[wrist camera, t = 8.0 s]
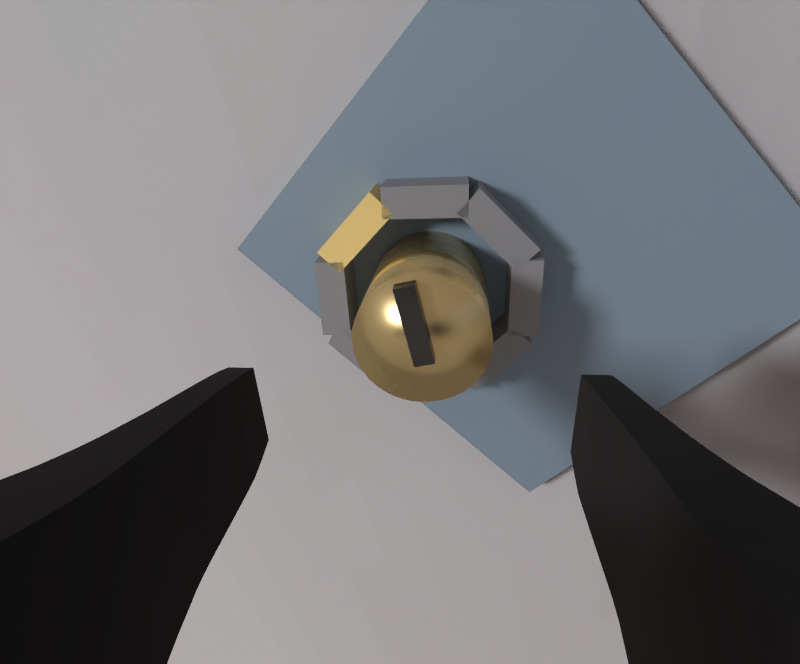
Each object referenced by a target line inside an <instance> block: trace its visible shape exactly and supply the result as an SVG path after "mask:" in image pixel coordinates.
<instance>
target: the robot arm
mask: <svg viewBox="0 0 800 664" xmlns="http://www.w3.org/2000/svg"><path fill="white" fill-rule="evenodd" d="M268 440H269V439H268V435H267V430H266V425H265V421H264V416H263V411H262V406H261V402H260V397H259V392H258V388H257V383H256V378H255V374H254V369H253V368H226V369H224V370H221V371H219V372H217V373H215V374H213V375H211V376H209V377H208V378H206V379H204V380H202V381H200V382H199V383H197V384H195V385H193V386H191V387H190V388H188V389H186V390H184V391H183V392H181V393H179V394H178V395H176V396H174V397H172V398H171V399H169V400H167V401H165V402H164V403H162V404H160V405H158V406H157V407H155V408H153V409H151V410H149V411H148V412H146V413H144V414H142V415H140V416H138V417H137V418H135V419H133V420H131V421H129V422H127V423H125V424H123V425H121V426H120V427H118V428H116V429H114V430H112V431H110V432H108V433H106V434H104V435H103V436H101V437H99V438H97V439H95V440H93V441H91V442H89V443H86V444H84V445H82V446H80V447H78V448H76V449H74V450H72V451H69V452H67V453H65V454H63V455H60V456H58V457H56V458H54V459H51V460H49V461H47V462H45V463H42V464H40V465H37V466H35V467H33V468H30V469H28V470H25V471H22V472H20V473H17V474H15V475H12V476H9V477H7V478H4V479H1V480H0V664H167V662H168V659H169V657H170V654H171V652H172V649H173V646H174V644H175V641H176V639H177V636H178V633H179V631H180V629H181V626H182V624H183V621H184V619H185V616H186V614H187V612H188V609H189V607H190V604H191V602H192V600H193V597H194V595H195V592H196V590H197V588H198V586H199V583H200V581H201V579H202V577H203V575H204V573H205V571H206V569H207V567H208V565H209V563H210V561H211V559H212V558H213V556H214V554H215V552H216V550H217V548H218V546H219V545H220V543H221V541H222V539H223V537H224V535H225V533H226V532H227V530H228V528H229V526H230V524H231V522H232V520H233V519H234V517H235V515H236V513H237V511H238V509H239V507H240V505H241V504H242V502H243V500H244V498H245V496H246V494H247V492H248V490H249V488H250V486H251V484H252V482H253V480H254V478H255V476H256V473H257V471H258V468H259V465H260V463H261V460H262V457H263V454H264V452H265V449H266V446H267V443H268ZM570 452H571V457H572V463H573V469H574V474H575V479H576V484H577V489H578V494H579V497H580V501H581V504H582V507H583V510H584V513H585V516H586V519H587V522H588V525H589V529H590V532H591V535H592V538H593V541H594V544H595V547H596V550H597V553H598V556H599V559H600V562H601V565H602V568H603V571H604V574H605V577H606V580H607V583H608V586H609V589H610V592H611V595H612V598H613V602H614V605H615V609H616V612H617V616H618V619H619V623H620V627H621V632H622V636H623V641H624V645H625V649H626V654H627V658H628V663H629V664H800V507H798V506H796V505H795V504H793V503H791V502H790V501H788V500H786V499H785V498H783V497H781V496H780V495H778V494H776V493H775V492H773V491H771V490H770V489H768V488H766V487H765V486H763V485H761V484H760V483H758V482H756V481H755V480H753V479H751V478H750V477H748V476H747V475H745V474H744V473H742V472H740V471H739V470H737V469H736V468H734V467H733V466H731V465H730V464H729V463H727V462H726V461H724V460H723V459H721V458H720V457H718V456H717V455H715V454H714V453H713V452H711V451H710V450H708V449H707V448H705V447H704V446H703V445H701V444H700V443H698V442H697V441H696V440H694V439H693V438H692V437H690V436H689V435H688V434H686V433H685V432H684V431H682V430H681V429H680V428H678V427H677V426H676V425H674V424H673V423H672V422H671V421H669V420H668V419H667V418H665V417H664V416H663V415H662V414H660V413H659V412H658V411H657V410H655V409H654V408H653V407H652V406H650V405H649V404H648V403H647V402H645V401H644V400H643V399H642V398H640V397H639V396H638V395H637V394H635V393H634V392H633V391H632V390H631V389H629V388H628V387H627V386H626V385H624V384H623V383H622V382H620V381H619V380H618V379H616V378H615V377H614V376H612V375H581V379H580V387H579V394H578V401H577V408H576V415H575V423H574V430H573V437H572V444H571V451H570Z"/></svg>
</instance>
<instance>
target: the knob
mask: <svg viewBox="0 0 800 664" xmlns="http://www.w3.org/2000/svg"><path fill="white" fill-rule="evenodd" d="M352 346H353V351H354V354H355V357H356V360H357V362H358V364H359V366H360V367H361V369H362V371H363V372H364V373H365V374H366V376H367V377H368V378H369V379H370V380H371V381H372V382H373V383H374V384H376V385H377V386H378V387H379V388H381V389H383V390H384V391H386V392H388V393H390V394H392V395H394V396H396V397H399V398H402V399H406V400H410V401H418V402H432V401H439V400H444V399H448V398H451V397H453V396H456V395H458V394H460V393H462V392H463V391H465V390H467V389H468V388H469V387H471V386H472V385H473V384H474V383H475V382H476V381H477V380H478V379H479V378H480V377H481V375H482V374H483V373H484V371H485V370H486V368H487V366H488V364H489V361H490V358H491V355H492V349H493V334H492V327H491V319H490V312H489V304H488V297H487V289H486V282H485V274H484V270H483V267H482V264H481V262H480V260H479V258H478V257H477V255H476V254H475V253H474V251H473V250H472V249H471V248H470V247H469V246H468V245H467V244H466V243H464V242H463V241H461V240H460V239H458V238H456V237H454V236H452V235H449V234H446V233H442V232H436V231H423V232H417V233H414V234H410V235H408V236H406V237H403V238H402V239H400V240H398V241H397V242H396V243H394V244H393V245H392V246H391V247H390V248H389V249H388V250H387V251H386V253H385V254H384V255H383V257H382V259H381V261H380V263H379V265H378V267H377V270H376V272H375V274H374V276H373V279H372V281H371V283H370V285H369V288H368V290H367V292H366V294H365V297H364V299H363V301H362V303H361V306H360V308H359V310H358V312H357V315H356V317H355V320H354V323H353V328H352Z"/></svg>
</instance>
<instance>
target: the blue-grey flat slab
mask: <svg viewBox="0 0 800 664" xmlns="http://www.w3.org/2000/svg"><path fill="white" fill-rule="evenodd" d="M423 231H436V232H442V233H446V234H449V235H452V236H454V237H456V238H458V239H460V240H461V241H463V242H464V243H466V244H467V245H468V246H469V247H470V248H471V249H472V250H473V251H474V253H475V254H476V255H477V257H478V258H479V260H480V262H481V264H482V267H483V270H484V274H485V282H486V289H487V297H488V304H489V312H490V319H491V327H492V334H493V349H492V355H491V358H490V361H489V364H488V366H487V368H486V370H485V371H484V373H483V374H482V375H481V377H480V378H479V379H478V380H477V381H476V382H475V383H474V384H473V385H472V386H471V387H469V388H468V389H467V390H465V391H463V392H462V393H460V394H458V395H456V396H453V397H451V398H448V399H444V400H439V401H432V402H422V403H423V404H424V405H425V406H427V407H428V408H429V409H430V410H431V411H433V412H434V413H435V414H436V415H437V416H439V417H440V418H441V419H442V420H443V421H445V422H446V423H447V424H448V425H449V426H451V427H452V428H453V429H454V430H455V431H457V432H458V433H459V434H460V435H461V436H463V437H464V438H465V439H466V440H467V441H469V442H470V443H471V444H472V445H473V446H475V447H476V448H477V449H478V450H479V451H481V452H482V453H483V454H484V455H485V456H487V457H488V458H489V459H490V460H491V461H493V462H494V463H495V464H496V465H497V466H499V467H500V468H501V469H502V470H503V471H505V472H506V473H507V474H508V475H509V476H511V477H512V478H513V479H514V480H515V481H517V482H518V483H519V484H520V485H521V486H523V487H524V488H525V489H526V490H527V491H529V492H530V491H532V490H533V489H535V488H537V487H538V486H540V485H541V484H543V483H544V482H546V481H548V480H549V479H551V478H552V477H554V476H555V475H557V474H558V473H560V472H562V471H563V470H565V469H566V468H568V467H569V466H571V465H573V463H572V457H571V452H570V451H571V444H572V437H573V430H574V423H575V415H576V408H577V401H578V394H579V387H580V379H581V375H612V376H614V377H615V378H616V379H618V380H619V381H620V382H622V383H623V384H624V385H626V386H627V387H628V388H629V389H631V390H632V391H633V392H634V393H635V394H637V395H638V396H639V397H640V398H642V399H643V400H644V401H645V402H647V403H648V404H649V405H650V406H652V407H653V408H654V409H655V410H659V409H660V408H662V407H663V406H665V405H667V404H668V403H670V402H671V401H673V400H674V399H676V398H678V397H679V396H681V395H682V394H684V393H685V392H687V391H688V390H690V389H692V388H693V387H695V386H696V385H698V384H699V383H701V382H703V381H704V380H706V379H707V378H709V377H710V376H712V375H714V374H715V373H717V372H718V371H720V370H721V369H723V368H725V367H726V366H728V365H729V364H731V363H732V362H734V361H735V360H737V359H739V358H740V357H742V356H743V355H745V354H746V353H748V352H750V351H751V350H753V349H754V348H756V347H757V346H759V345H761V344H762V343H764V342H765V341H767V340H768V339H770V338H771V337H773V336H775V335H776V334H778V333H779V332H781V331H782V330H784V329H786V328H787V327H789V326H790V325H792V324H793V323H795V322H797V321H798V320H800V207H799V205H798V204H797V203H796V202H795V200H794V199H793V198H792V197H791V195H790V194H789V193H788V191H787V190H786V189H785V188H784V186H783V185H782V184H781V183H780V181H779V180H778V179H777V177H776V176H775V175H774V174H773V172H772V171H771V170H770V169H769V167H768V166H767V165H766V164H765V162H764V161H763V160H762V158H761V157H760V156H759V155H758V153H757V152H756V151H755V150H754V148H753V147H752V146H751V144H750V143H749V142H748V141H747V139H746V138H745V137H744V136H743V134H742V133H741V132H740V130H739V129H738V128H737V127H736V125H735V124H734V123H733V122H732V120H731V119H730V118H729V116H728V115H727V114H726V113H725V111H724V110H723V109H722V108H721V106H720V105H719V104H718V102H717V101H716V100H715V99H714V97H713V96H712V95H711V94H710V92H709V91H708V90H707V88H706V87H705V86H704V85H703V83H702V82H701V81H700V80H699V78H698V77H697V76H696V74H695V73H694V72H693V71H692V69H691V68H690V67H689V66H688V64H687V63H686V62H685V60H684V59H683V58H682V57H681V55H680V54H679V53H678V52H677V50H676V49H675V48H674V46H673V45H672V44H671V43H670V41H669V40H668V39H667V38H666V36H665V35H664V34H663V32H662V31H661V30H660V29H659V27H658V26H657V25H656V24H655V22H654V21H653V20H652V18H651V17H650V16H649V15H648V13H647V12H646V11H645V10H644V8H643V7H642V6H641V4H640V3H639V2H638V1H637V0H428V1H427V2H426V4H425V5H424V6H423V8H422V9H421V10H420V12H419V13H418V14H417V15H416V17H415V18H414V19H413V21H412V22H411V23H410V25H409V26H408V27H407V29H406V30H405V31H404V32H403V34H402V35H401V36H400V38H399V39H398V40H397V42H396V43H395V44H394V45H393V47H392V48H391V49H390V51H389V52H388V53H387V55H386V56H385V57H384V59H383V60H382V61H381V62H380V64H379V65H378V66H377V68H376V69H375V70H374V72H373V73H372V74H371V75H370V77H369V78H368V79H367V81H366V82H365V83H364V85H363V86H362V87H361V89H360V90H359V91H358V92H357V94H356V95H355V96H354V98H353V99H352V100H351V102H350V103H349V104H348V105H347V107H346V108H345V109H344V111H343V112H342V113H341V115H340V116H339V117H338V119H337V120H336V121H335V122H334V124H333V125H332V126H331V128H330V129H329V130H328V132H327V133H326V134H325V135H324V137H323V138H322V139H321V141H320V142H319V143H318V145H317V146H316V147H315V149H314V150H313V151H312V152H311V154H310V155H309V156H308V158H307V159H306V160H305V162H304V163H303V164H302V165H301V167H300V168H299V169H298V171H297V172H296V173H295V175H294V176H293V177H292V179H291V180H290V181H289V182H288V184H287V185H286V186H285V188H284V189H283V190H282V192H281V193H280V194H279V195H278V197H277V198H276V199H275V201H274V202H273V203H272V205H271V206H270V207H269V209H268V210H267V211H266V212H265V214H264V215H263V216H262V218H261V219H260V220H259V222H258V223H257V224H256V225H255V227H254V228H253V229H252V231H251V232H250V233H249V235H248V236H247V237H246V239H245V240H244V241H243V242H242V244H241V245H240V246H239V248H238V250H239V251H240V252H242V253H243V254H244V255H245V256H246V257H248V258H249V259H250V260H251V261H252V262H254V263H255V264H256V265H257V266H258V267H260V268H261V269H262V270H263V271H264V272H266V273H267V274H268V275H269V276H270V277H272V278H273V279H274V280H275V281H276V282H278V283H279V284H280V285H281V286H282V287H284V288H285V289H286V290H287V291H289V292H290V293H291V294H292V295H293V296H295V297H296V298H297V299H298V300H299V301H301V302H302V303H303V304H304V305H305V306H307V307H308V308H309V309H310V310H311V311H313V312H314V313H315V314H316V315H317V316H319V317H320V318H321V320H322V327H323V335H333V336H332V337H331V339H330V341H329V344H330V345H331V346H332V347H334V348H335V349H336V350H337V351H338V352H340V353H341V354H342V355H343V356H345V357H346V358H347V359H348V360H349V361H351V362H352V363H353V364H354V365H356V366H357V367H358V368H359V369H360V370H362V369H361V367H360V366H359V364H358V362H357V360H356V357H355V354H354V351H353V346H352V328H353V323H354V320H355V317H356V315H357V312H358V310H359V308H360V306H361V303H362V301H363V299H364V297H365V294H366V292H367V290H368V288H369V285H370V283H371V281H372V279H373V276H374V274H375V272H376V270H377V267H378V265H379V263H380V261H381V259H382V257H383V255H384V254H385V253H386V251H387V250H388V249H389V248H390V247H391V246H392V245H393V244H394V243H396V242H397V241H398V240H400V239H402V238H403V237H406V236H408V235H410V234H414V233H417V232H423Z"/></svg>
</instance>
